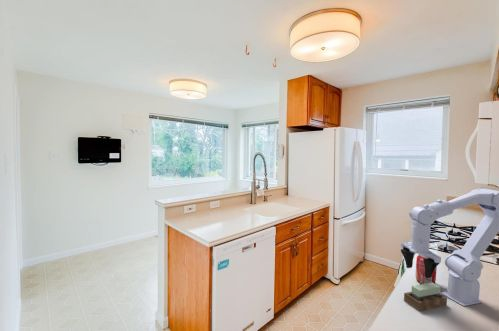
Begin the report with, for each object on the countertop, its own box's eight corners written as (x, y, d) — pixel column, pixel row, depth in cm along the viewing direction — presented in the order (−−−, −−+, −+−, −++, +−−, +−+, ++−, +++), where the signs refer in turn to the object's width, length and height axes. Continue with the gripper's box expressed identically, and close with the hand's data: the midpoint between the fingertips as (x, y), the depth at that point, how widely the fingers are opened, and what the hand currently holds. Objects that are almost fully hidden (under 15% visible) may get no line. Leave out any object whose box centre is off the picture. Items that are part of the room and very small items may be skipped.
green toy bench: (431, 298, 90) (432, 282, 90) (439, 303, 87) (440, 286, 87) (410, 302, 87) (411, 285, 87) (418, 307, 85) (419, 290, 84)
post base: (430, 295, 92) (430, 288, 92) (446, 305, 86) (447, 297, 86) (403, 300, 88) (404, 293, 88) (418, 311, 83) (419, 303, 83)
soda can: (426, 277, 105) (428, 251, 104) (439, 287, 98) (441, 259, 97) (411, 277, 105) (412, 251, 104) (423, 287, 98) (425, 259, 97)
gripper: (395, 232, 96) (394, 264, 97) (431, 246, 82) (429, 283, 83) (409, 231, 98) (407, 262, 99) (446, 244, 84) (443, 281, 85)
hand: (418, 272), depth 91 cm, fingers open, 7 cm apart
